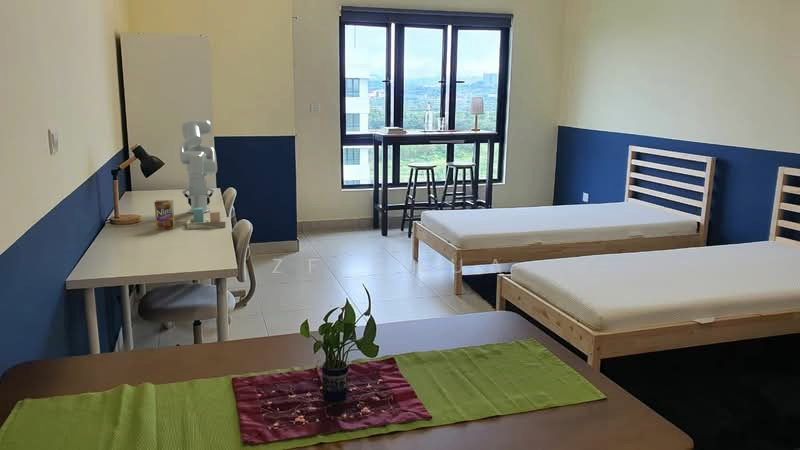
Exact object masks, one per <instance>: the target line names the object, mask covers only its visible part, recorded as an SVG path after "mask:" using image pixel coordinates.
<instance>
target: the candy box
mask: <svg viewBox="0 0 800 450" xmlns="http://www.w3.org/2000/svg"><path fill="white" fill-rule="evenodd" d="M153 204H154V214H155V215H154V217H155V224H156V225H155V228H156V230H174V229H176V222H175V212H174V211H175V207H174V200H173V199H169V200H167V199H166V200H165V199H161V200H160V199H159V200H158V199H156V200H155V201H154V203H153Z"/></svg>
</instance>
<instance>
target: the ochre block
mask: <svg viewBox="0 0 800 450" xmlns="http://www.w3.org/2000/svg"><path fill="white" fill-rule="evenodd" d="M220 212H221V210H210V211H209V218H210V219H209V220H210V221H209V222H220V221H221V213H220Z"/></svg>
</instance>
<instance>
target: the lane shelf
mask: <svg viewBox="0 0 800 450" xmlns="http://www.w3.org/2000/svg"><path fill="white" fill-rule="evenodd" d="M191 221H192V220H191V219H187V222H186V229H187V230H191V229H193V230H194V229H212V228H213V229H214V228H215V229H217V228H226V225H227V223H226V221H227V220H226V217H223V218H222V221H221V220H220V222H210V221H209V218H205V219H204V222H199V223H194V222H191Z"/></svg>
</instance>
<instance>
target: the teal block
mask: <svg viewBox="0 0 800 450" xmlns="http://www.w3.org/2000/svg"><path fill="white" fill-rule="evenodd" d="M192 214H193V223H199V222H205V216H204V213H203V207H200V208H193V213H192Z"/></svg>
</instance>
